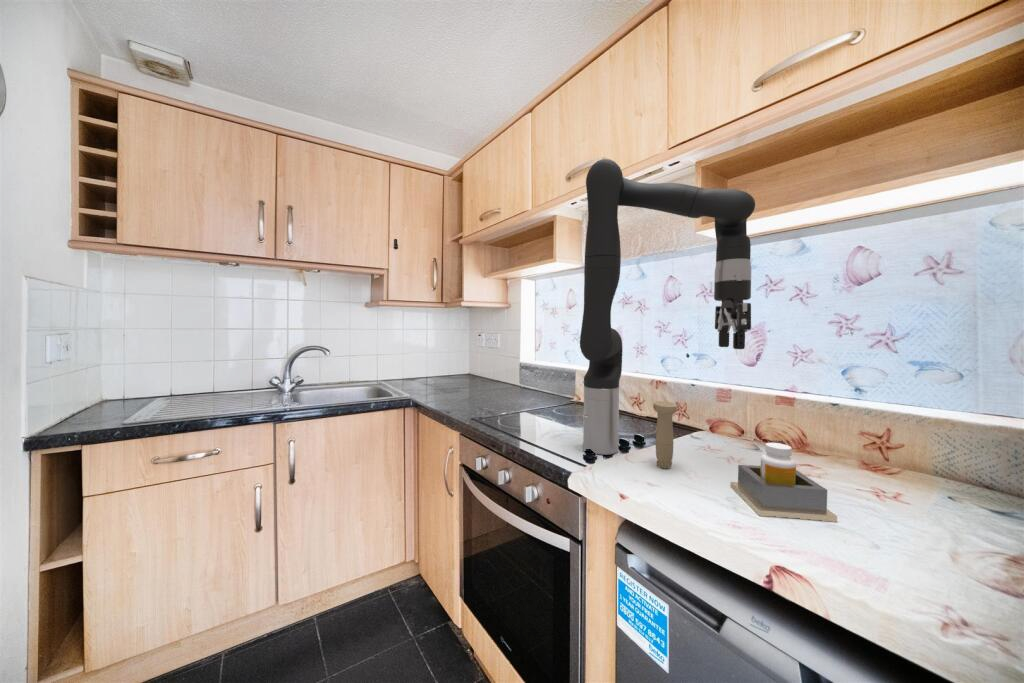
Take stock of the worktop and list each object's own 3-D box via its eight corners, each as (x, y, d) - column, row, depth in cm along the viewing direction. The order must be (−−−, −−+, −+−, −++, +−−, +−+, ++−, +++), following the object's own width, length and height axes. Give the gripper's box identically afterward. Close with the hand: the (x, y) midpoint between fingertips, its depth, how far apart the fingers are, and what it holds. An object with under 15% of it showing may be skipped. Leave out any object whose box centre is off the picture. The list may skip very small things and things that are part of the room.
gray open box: (759, 515, 64) (760, 487, 63) (730, 486, 75) (730, 462, 75) (837, 521, 62) (838, 493, 61) (794, 490, 73) (795, 466, 73)
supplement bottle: (802, 503, 66) (804, 450, 66) (771, 502, 66) (772, 450, 66) (782, 490, 71) (783, 441, 71) (753, 489, 72) (755, 440, 71)
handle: (670, 462, 89) (671, 401, 89) (679, 472, 83) (680, 407, 82) (649, 461, 90) (650, 401, 89) (657, 471, 83) (658, 406, 83)
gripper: (705, 284, 94) (703, 346, 95) (727, 276, 80) (726, 349, 81) (736, 283, 93) (735, 346, 94) (765, 275, 79) (763, 350, 80)
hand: (730, 347), depth 87 cm, fingers open, 8 cm apart
